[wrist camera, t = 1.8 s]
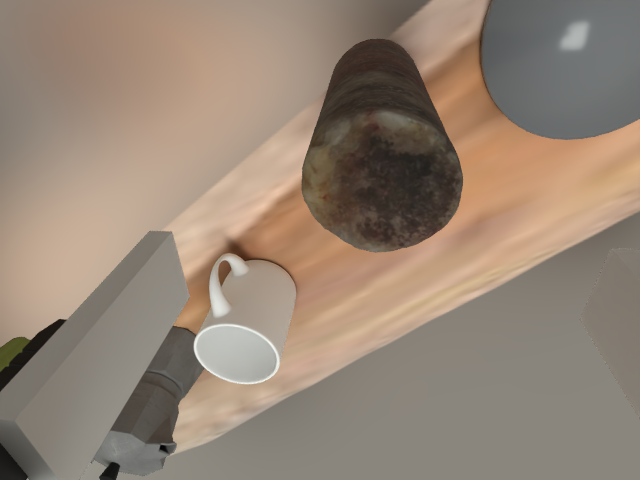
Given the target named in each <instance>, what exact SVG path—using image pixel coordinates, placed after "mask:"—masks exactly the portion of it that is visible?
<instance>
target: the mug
mask: <svg viewBox="0 0 640 480" xmlns="http://www.w3.org/2000/svg"><path fill="white" fill-rule="evenodd" d="M223 260H226V261H228V262H229V264H230V266H231V269H232V270H231V271H230V272H229V274H228V275H227V277H226V279H225V281H224V283H223V285H222V287H221V286H220V282H219V278H218V267H219V264H220V263H221V262H222V261H223ZM209 292H210V300H211V305H212V306H211V308H210V310H209V312H208V314H207V316H206V318H205V320H204V322H203V324H202V326H201V328H200V330H199V332H198V334H197V336H196V338H195V340H194V352H195V355H196V357H197V359H198V361H199V362H200V363H201V365H202V366H203V367H204V368H205V369H206V370H208V371H209V372H210V373H212V374H213V375H215V376H217V377H219V378H221V379H224V380H226V381H229V382H233V383H239V384H256V383H260V382H263V381H266V380H268V379H269V378H271V377H272V376H273V375H274V374H275V373H276V372H277V370H278V368H279V365H280V361H281V357H282V353H283V349H284V345H285V341H286V337H287V333H288V329H289V325H290V321H291V317H292V313H293V309H294V305H295V301H296V287H295V284H294V281H293V280H292V278H291V276H290V275H289V274H288V273H287V272H286V271H285V270H284V269H283V268H281V267H280V266H278V265H276V264H274V263H271V262H269V261H264V260H249V261H244V260H243V259H242V258H240V257H239V256H237V255H235V254H231V253H227V254H224V255H222V256H221V257H220V258H219V259H218V260H217V261H216V263H215V265H214V267H213V269H212V272H211V276H210V282H209Z"/></svg>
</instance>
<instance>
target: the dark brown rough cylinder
mask: <svg viewBox="0 0 640 480" xmlns="http://www.w3.org/2000/svg"><path fill="white" fill-rule="evenodd" d="M462 186H463V174H462V170H461V166H460V161H459V158H458V156H457V153H456V151H455V149H454V147H453V145H452V143H451V141H450V140H449V138H448V136H447V134H446V132H445V129H444V127H443V124H442V122H441V120H440V118H439V116H438V113H437V111H436V109H435V107H434V105H433V103H432V101H431V99H430V96H429V94H428V92H427V90H426V87H425V85H424V82H423V80H422V78H421V76H420V74H419V71H418V69H417V67H416V65H415V63H414V61H413V59H412V58H411V57H410V56H409V54H408V53H407V52H406V51H405V50H404V49H403V48H402V47H401V46H400V45H398V44H396V43H394V42H392V41H389V40H384V39H370V40H366V41H363V42H360V43H358V44H356V45H354V46H353V47H352V48H351V49H350V50H348V51H347V52H346V53H345V54H344V55H343V56H342V58H341V59H340V60H339V62H338V63H337V65H336V67H335V69H334V71H333V74H332V77H331V80H330V83H329V87H328V91H327V94H326V97H325V100H324V103H323V107H322V110H321V112H320V116H319V119H318V121H317V125H316V127H315V129H314V133H313V136H312V139H311V142H310V145H309V148H308V151H307V154H306V157H305V161H304V164H303V167H302V194H303V197H304V201H305V202H306V204H307V205H308V207H309V210H310V212H311V213H312V215H313V216H314V218H315V219H316V220H317V221H318V222H319V223H320V224H321V225H322V226H323V227H324V228H325V229H327V230H329V231H330V232H332V233H333V234H335V235H336V236H338V237H339V238H340V239H342V240H343V241H345V242H347V243H349V244H351V245H352V246H354V247H355V248H358V249H361V250H366V251H370V252H388V251H394V250H398V249H401V248H407V247H410V246H413V245H416V244H418V243H420V242H422V241H423V240H425V239H427V238H429V237H431V236H432V235H434V234H435V233H436V232H438V231H440V230H441V229H442V228H443V227H444V226H446V225H447V224H448V222H449V221H450V220H451V218H452V217H453V216H454V214H455V213H456V211H457V208H458V206H459V202H460V198H461V192H462Z"/></svg>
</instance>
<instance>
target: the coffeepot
mask: <svg viewBox="0 0 640 480" xmlns="http://www.w3.org/2000/svg"><path fill="white" fill-rule="evenodd" d="M196 336H197V335H195V334H194V333H192V332H190V331H188V330H186V329H183V328H180V327H176V326H172V328H171V329H170V331H169V333H168V334H167V336H166V338H165V339H164V341H163V343H162V344H161V346H160V348H159V349H158V351H157V352H156V354H155V356H154V357H153V359H152V361H151V362H150V364H149V366H148V367H147V369H146V371H145V372H144V374H143V376H142V377H141V379H140V381H139V382H138V384H137V386H136V387H135V389H134V391H133V392H132V394H131V396H130V397H129V399H128V401H127V402H126V404H125V406H124V407H123V409H122V411H121V412H120V414H119V416H118V417H117V419H116V421H115V422H114V424H113V426H112V427H111V429H110V431H109V432H108V434H107V436H106V437H105V439H104V441H103V442H102V444H101V446H100V447H99V449H98V451H97V452H96V454H95V456H94V457H93V459H92V461H91V462H90V463H92V462H93V461H94V460H96V461H97V462H99V463H101V464H103V465H104V466H106V467H107V468H106V469H105V471H104V472H103V473H102V475H101V476H100V477H99V478H100V480H116V478H117V475H118V472H123V473H128V474H135V475H140V476H145V475H148V474H150V473H153V472H155V471H157V470H160V469H162V468H163V465H164V462H165V458H166V457H167V456H169V455H170V454H171V453H174V451H175V449H176V446H177V444H176V443H175V442H173V438H172V434H173V431H174V427H175V424H176V421H177V417H178V414H179V411H178V404H179V402H180V400H181V399H183V398H184V397H185V396H186V394H187V393H188V392H189V390H190V389H191V387H192V386H193V384H194V383H195V381H196V380H197V378H198V377H199V376H200V374H201V373H202V371H203V370H204V367H203V366H202V365H201V363H200V362H199V361H198V359H197V357H196V355H195V352H194V340H195V338H196Z"/></svg>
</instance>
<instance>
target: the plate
mask: <svg viewBox="0 0 640 480" xmlns="http://www.w3.org/2000/svg"><path fill="white" fill-rule="evenodd" d="M480 63H481V70H482V76H483V79H484V82H485V85H486V88H487V90H488V92H489V94H490V96H491V98H492V100H493V101H494V103H495V104H496V105H497V107H498V108H499V109H500V110H501V111H502V112H503V113H504V114H505V115H506V116H507V117H508V118H509V119H510V120H511V121H512V122H513V123H515V124H516V125H517V126H519V127H521V128H522V129H524V130H526V131H528V132H530V133H533V134H536V135H539V136H542V137H547V138H552V139H564V140H570V139H583V138H589V137H595V136H598V135H602V134H606V133H609V132H612V131H614V130H617V129H619V128H622V127H624V126H626V125H628V124H630V123H632V122H635V121H637V120H638V119H640V0H491V2H490V5H489V8H488V11H487V13H486V16H485V20H484V25H483V29H482V34H481V43H480Z"/></svg>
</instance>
